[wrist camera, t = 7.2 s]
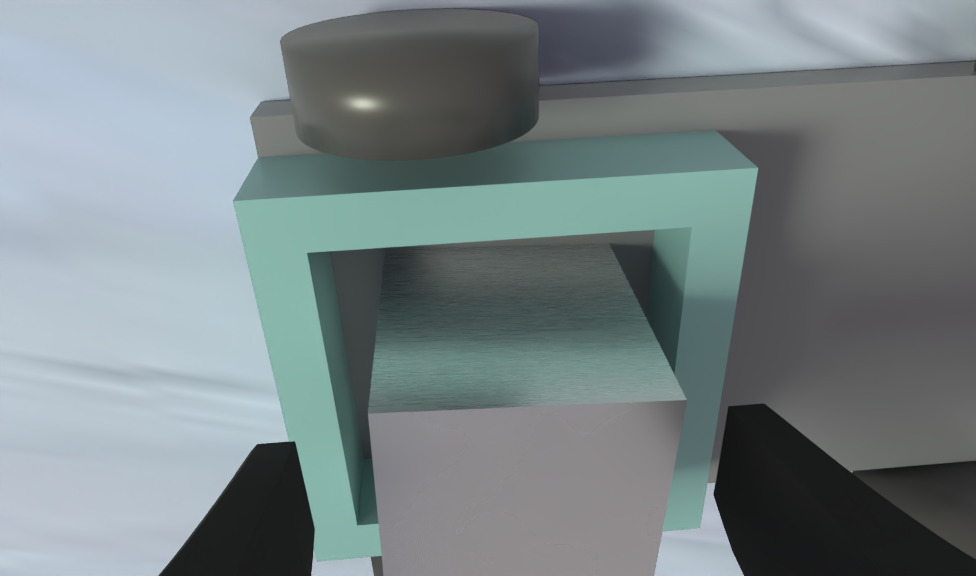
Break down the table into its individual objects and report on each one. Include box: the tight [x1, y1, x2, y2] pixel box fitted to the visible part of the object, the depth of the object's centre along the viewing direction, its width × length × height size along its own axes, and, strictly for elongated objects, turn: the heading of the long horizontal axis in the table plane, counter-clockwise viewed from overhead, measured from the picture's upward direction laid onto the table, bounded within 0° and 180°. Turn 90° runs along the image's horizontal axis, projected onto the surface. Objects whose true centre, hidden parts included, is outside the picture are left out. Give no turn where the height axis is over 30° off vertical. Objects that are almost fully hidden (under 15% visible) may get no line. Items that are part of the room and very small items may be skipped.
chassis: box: [233, 9, 976, 576], centre depth 15 cm, size 13×18×4 cm
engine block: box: [368, 243, 687, 576], centre depth 13 cm, size 4×4×5 cm
